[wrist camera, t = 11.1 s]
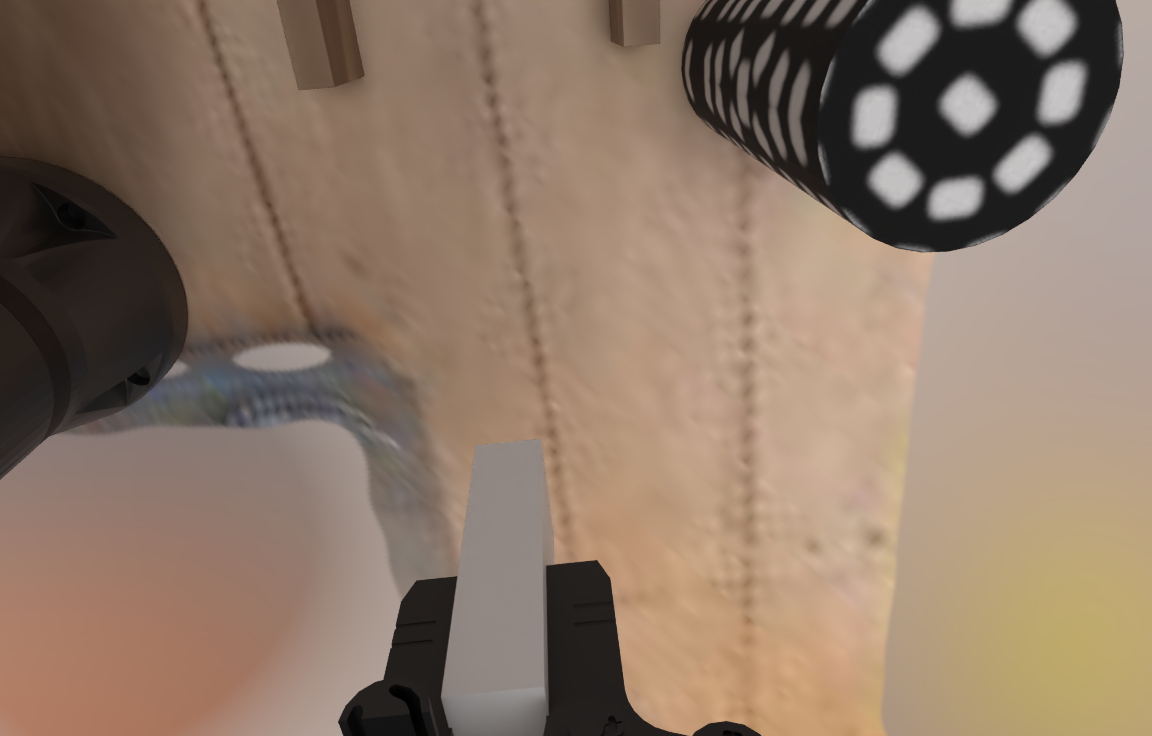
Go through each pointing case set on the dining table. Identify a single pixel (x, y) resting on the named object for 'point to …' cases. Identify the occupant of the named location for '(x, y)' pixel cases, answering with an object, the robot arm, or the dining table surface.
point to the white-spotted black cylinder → (911, 104)
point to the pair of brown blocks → (332, 55)
